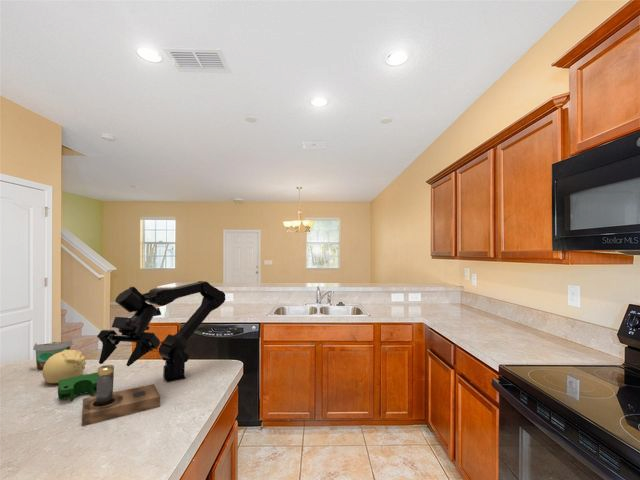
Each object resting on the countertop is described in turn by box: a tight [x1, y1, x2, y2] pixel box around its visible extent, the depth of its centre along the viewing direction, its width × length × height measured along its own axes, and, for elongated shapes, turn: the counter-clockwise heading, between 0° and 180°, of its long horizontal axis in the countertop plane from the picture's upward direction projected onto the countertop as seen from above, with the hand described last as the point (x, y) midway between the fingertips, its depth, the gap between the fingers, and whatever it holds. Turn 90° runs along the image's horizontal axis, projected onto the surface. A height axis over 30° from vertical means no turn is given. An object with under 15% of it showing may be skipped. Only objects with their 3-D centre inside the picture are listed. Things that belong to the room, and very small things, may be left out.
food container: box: [33, 339, 74, 371], centre depth 123 cm, size 12×6×10 cm, turn 118°
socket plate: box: [81, 383, 161, 427], centre depth 94 cm, size 19×11×3 cm, turn 127°
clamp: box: [57, 371, 98, 402], centre depth 101 cm, size 12×6×9 cm, turn 129°
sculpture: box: [42, 349, 87, 384], centre depth 113 cm, size 11×12×11 cm
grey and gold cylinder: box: [95, 364, 115, 407], centre depth 91 cm, size 4×4×13 cm
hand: (113, 364), depth 94 cm, fingers open, 9 cm apart
